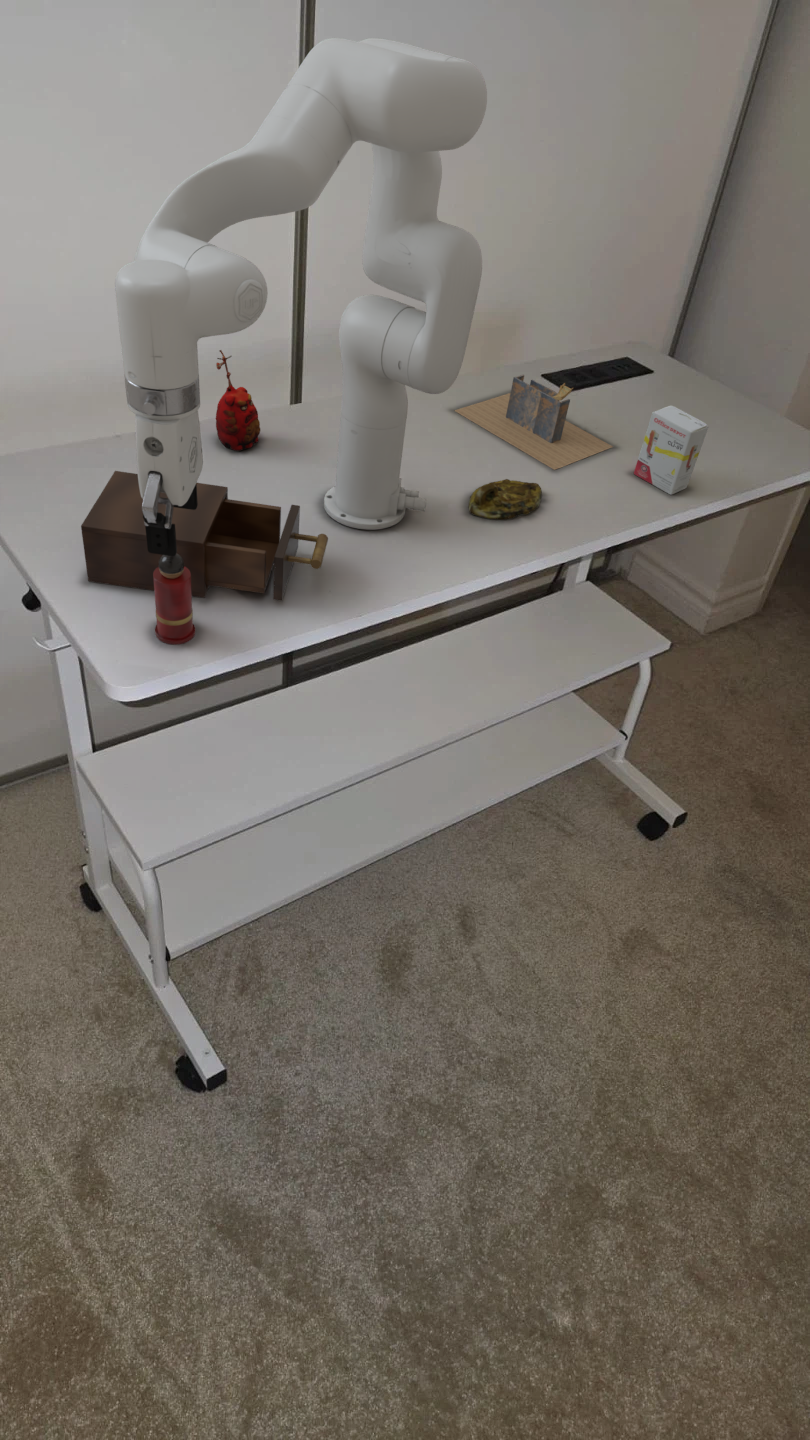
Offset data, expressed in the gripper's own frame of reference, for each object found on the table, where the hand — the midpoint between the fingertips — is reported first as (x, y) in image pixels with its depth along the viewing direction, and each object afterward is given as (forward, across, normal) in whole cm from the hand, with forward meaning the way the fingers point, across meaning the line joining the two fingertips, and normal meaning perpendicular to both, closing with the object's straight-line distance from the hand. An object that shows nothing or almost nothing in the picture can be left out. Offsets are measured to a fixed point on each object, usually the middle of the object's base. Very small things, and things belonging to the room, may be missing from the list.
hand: (173, 529), depth 112 cm
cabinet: (+15, +14, +6) cm, 22 cm away
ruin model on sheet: (+17, +71, -47) cm, 87 cm away
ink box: (+17, +58, -69) cm, 92 cm away
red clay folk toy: (+16, +50, +3) cm, 53 cm away
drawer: (+14, +14, -7) cm, 21 cm away
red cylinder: (+15, -1, 0) cm, 15 cm away
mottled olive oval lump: (+17, +43, -42) cm, 62 cm away
